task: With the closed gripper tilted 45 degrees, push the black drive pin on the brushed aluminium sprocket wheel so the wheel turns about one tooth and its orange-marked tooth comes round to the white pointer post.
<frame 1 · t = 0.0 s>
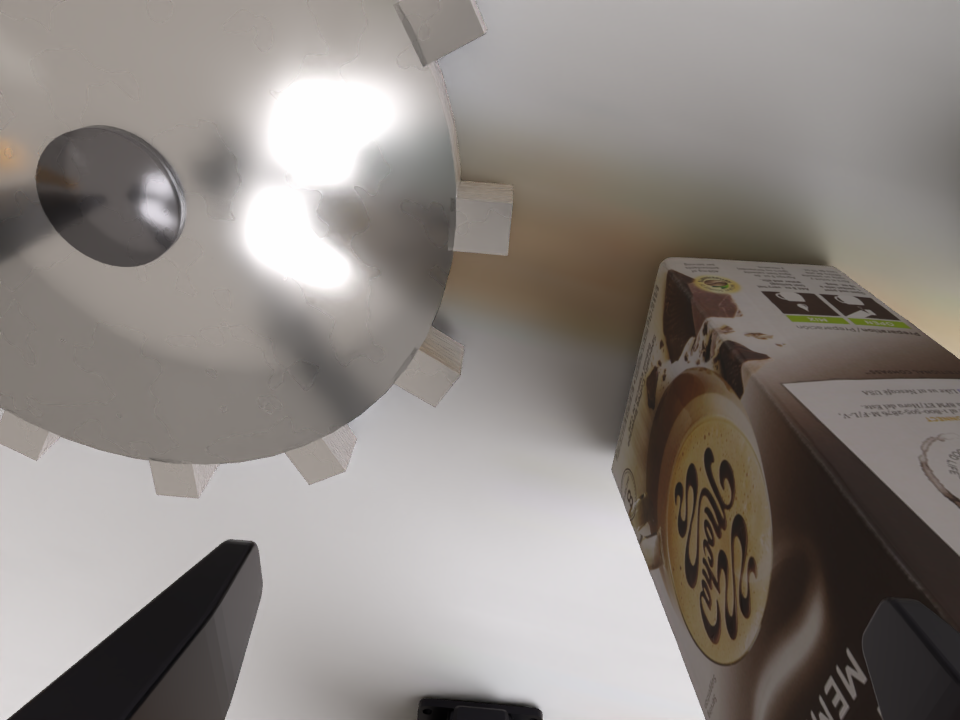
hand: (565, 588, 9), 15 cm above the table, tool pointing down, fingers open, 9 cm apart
coffee box: (709, 373, 24), on the table, touching gripper
sprocket: (19, 248, 16), point 7 cm above the table, hinge at 0.0°
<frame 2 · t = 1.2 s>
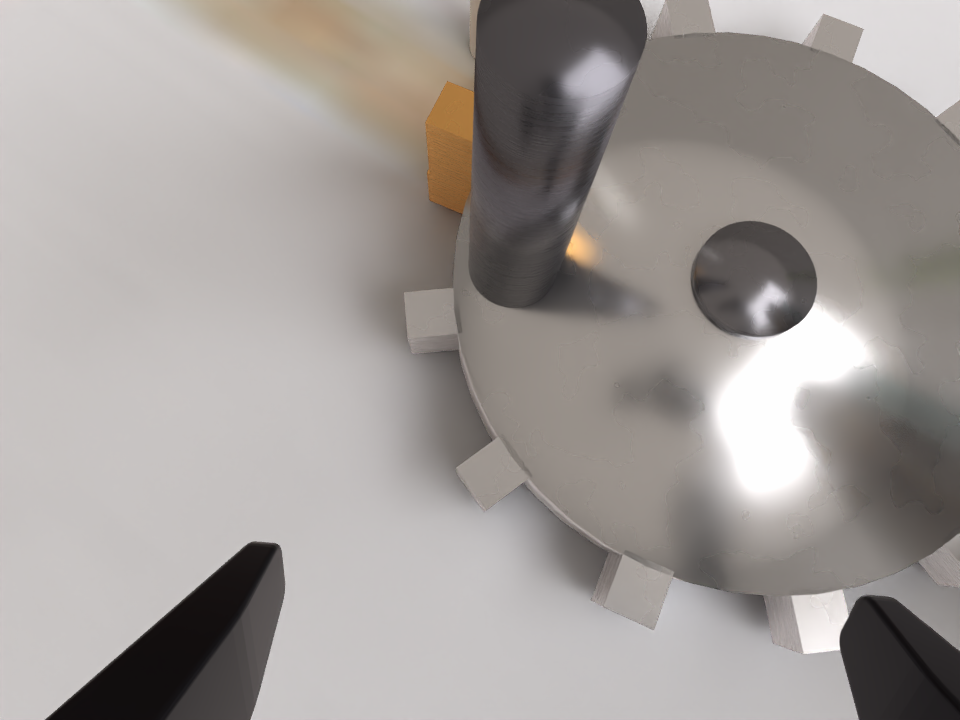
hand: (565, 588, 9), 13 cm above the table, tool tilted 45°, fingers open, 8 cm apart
pointer post: (498, 45, 27), on the table
sprocket: (819, 223, 18), point 7 cm above the table, hinge at 0.0°
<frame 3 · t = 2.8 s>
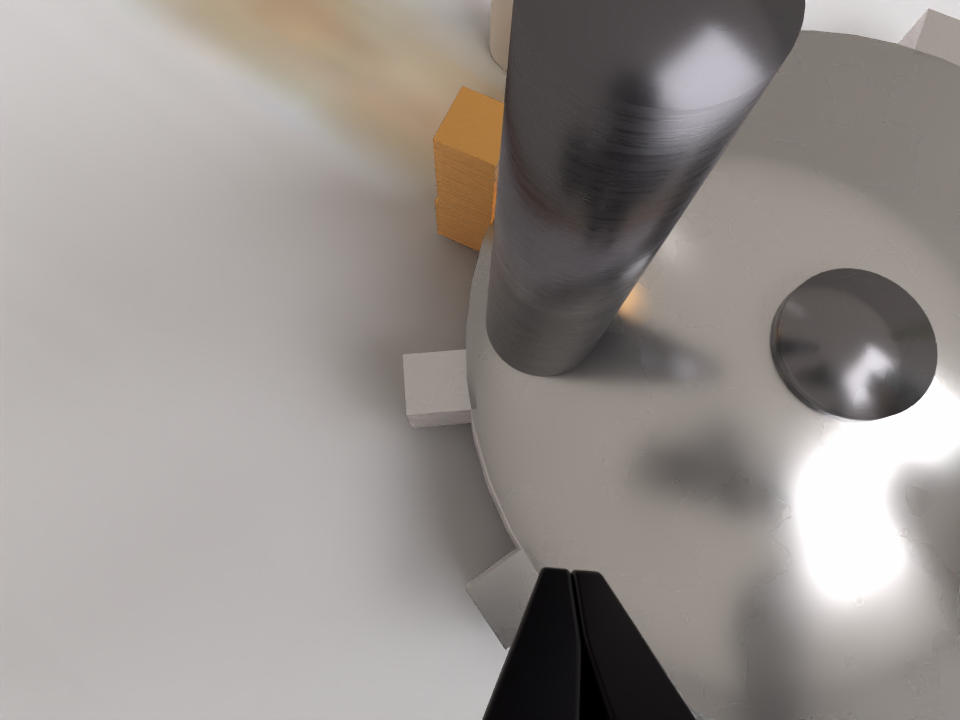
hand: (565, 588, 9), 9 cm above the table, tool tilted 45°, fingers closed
pointer post: (524, 45, 23), on the table
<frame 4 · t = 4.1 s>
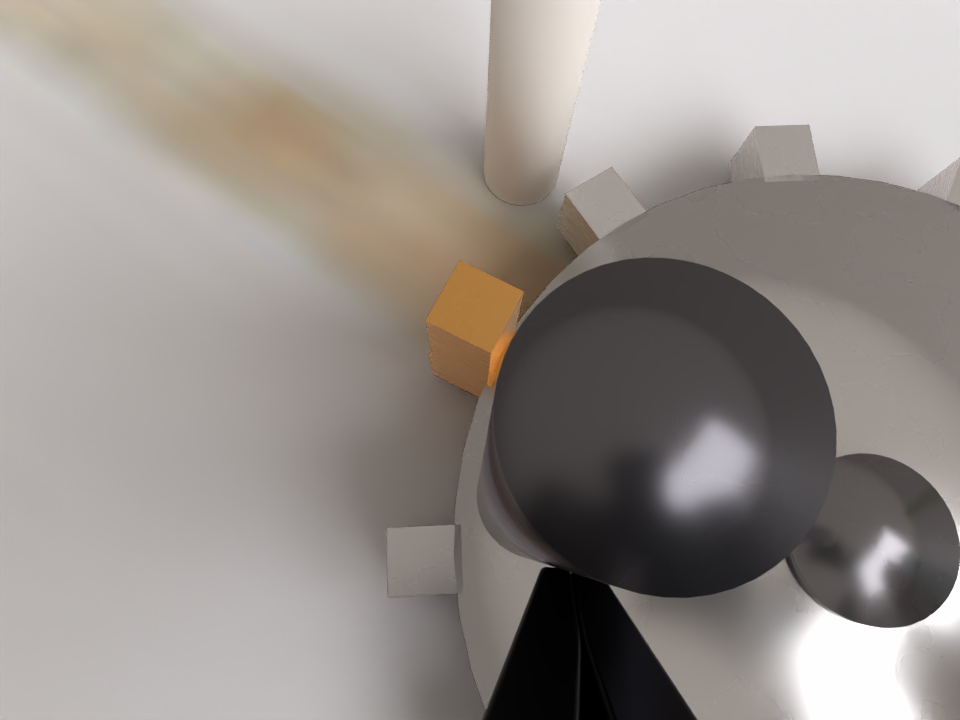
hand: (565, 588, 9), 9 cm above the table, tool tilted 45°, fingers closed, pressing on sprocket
pointer post: (520, 171, 22), on the table
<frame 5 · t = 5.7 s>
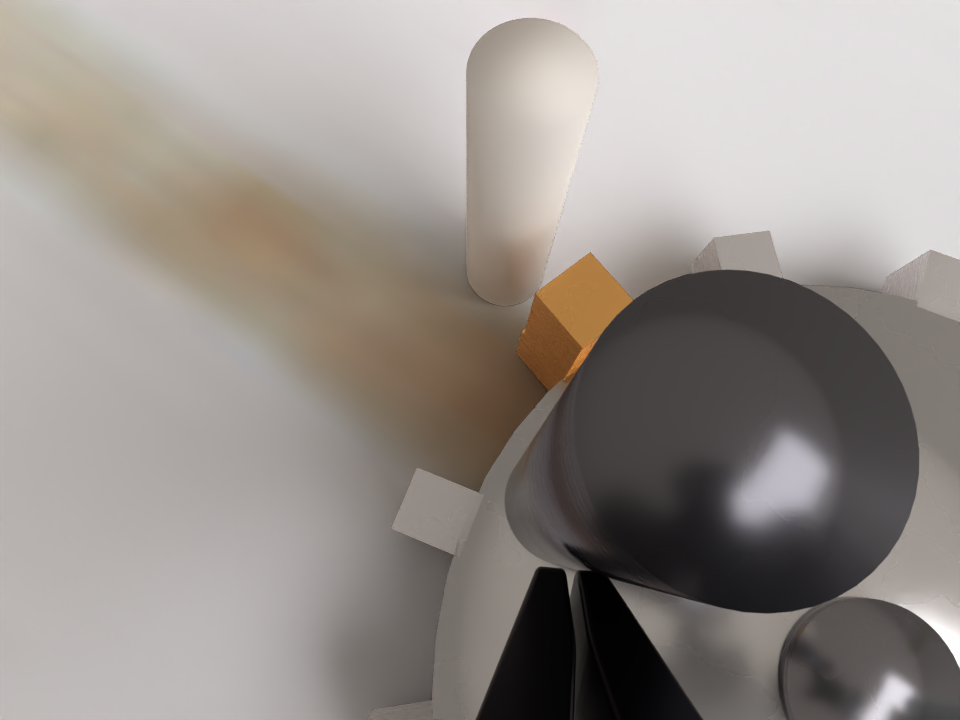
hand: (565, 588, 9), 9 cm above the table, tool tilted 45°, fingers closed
pointer post: (505, 269, 21), on the table
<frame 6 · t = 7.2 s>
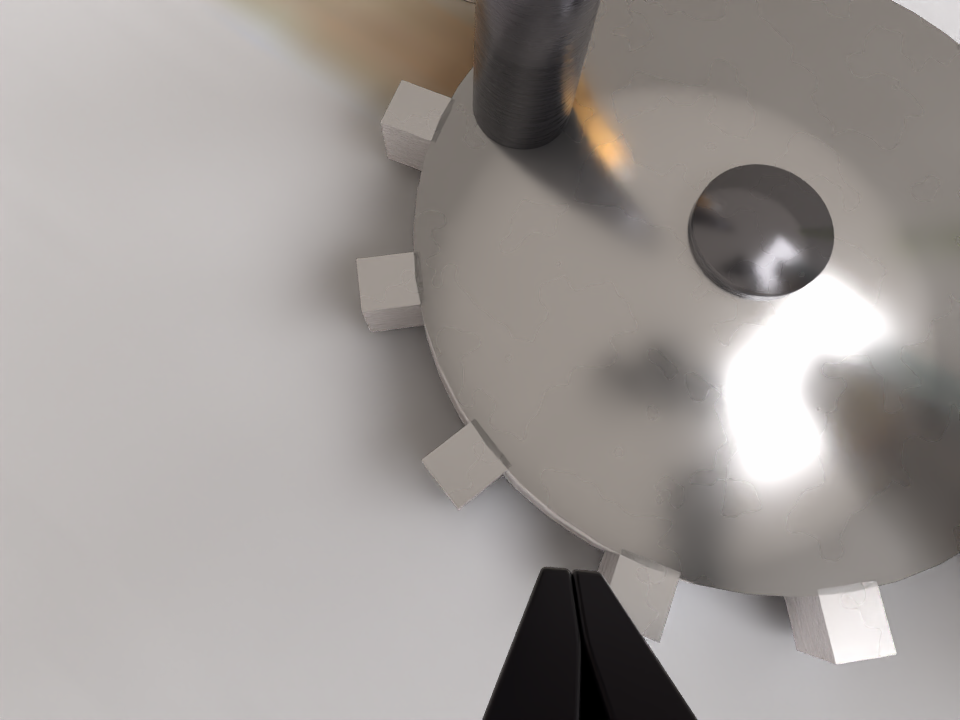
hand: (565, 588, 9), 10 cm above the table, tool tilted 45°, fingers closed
sprocket: (840, 151, 15), point 7 cm above the table, hinge at -27.1°
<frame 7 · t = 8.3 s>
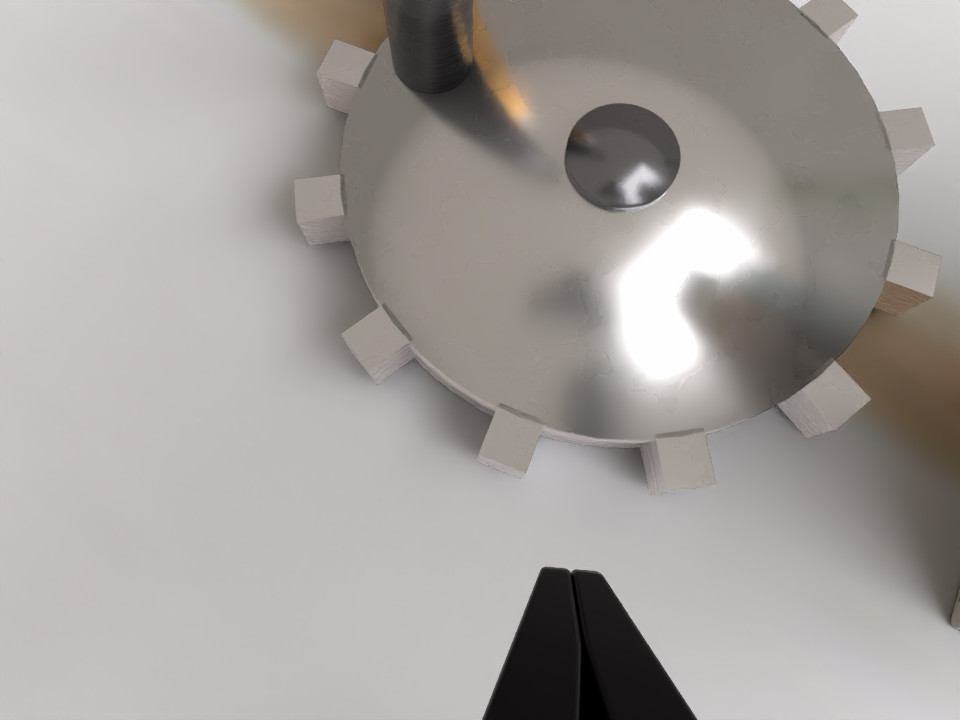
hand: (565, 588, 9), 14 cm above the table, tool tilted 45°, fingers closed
sprocket: (654, 77, 19), point 7 cm above the table, hinge at -27.1°
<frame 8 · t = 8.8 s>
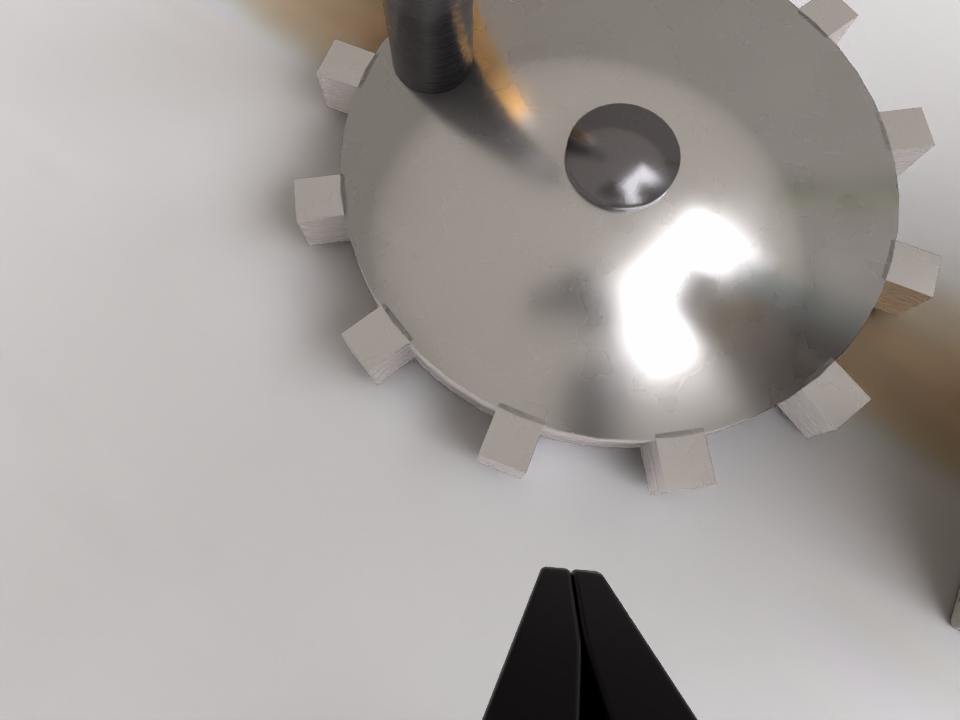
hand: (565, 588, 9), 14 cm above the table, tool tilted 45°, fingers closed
sprocket: (654, 77, 19), point 7 cm above the table, hinge at -27.1°
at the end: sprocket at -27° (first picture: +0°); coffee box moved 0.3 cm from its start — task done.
